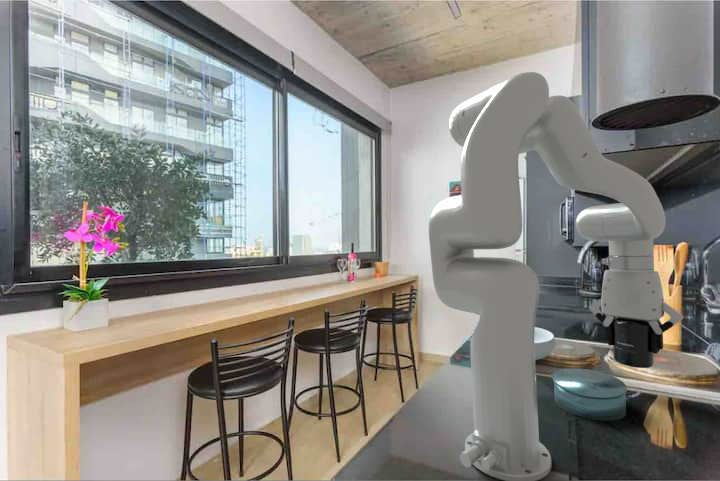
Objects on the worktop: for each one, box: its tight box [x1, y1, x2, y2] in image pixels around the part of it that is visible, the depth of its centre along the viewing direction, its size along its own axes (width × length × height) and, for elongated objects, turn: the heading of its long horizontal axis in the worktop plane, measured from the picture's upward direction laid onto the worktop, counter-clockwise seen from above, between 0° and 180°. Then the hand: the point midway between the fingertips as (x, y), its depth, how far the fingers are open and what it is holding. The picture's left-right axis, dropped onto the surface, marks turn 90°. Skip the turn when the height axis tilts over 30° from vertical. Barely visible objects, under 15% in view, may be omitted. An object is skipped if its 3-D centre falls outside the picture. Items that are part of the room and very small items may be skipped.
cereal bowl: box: [534, 326, 555, 362], centre depth 98 cm, size 17×17×7 cm
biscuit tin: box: [552, 367, 628, 422], centre depth 70 cm, size 12×12×5 cm
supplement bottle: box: [612, 317, 655, 369], centre depth 74 cm, size 7×7×12 cm
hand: (633, 347), depth 74 cm, fingers closed on supplement bottle, 6 cm apart
